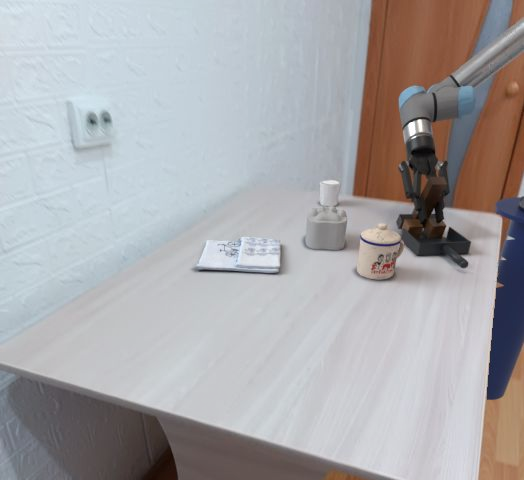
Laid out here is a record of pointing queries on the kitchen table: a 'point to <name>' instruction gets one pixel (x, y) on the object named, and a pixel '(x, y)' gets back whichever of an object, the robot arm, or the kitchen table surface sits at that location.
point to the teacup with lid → (379, 252)
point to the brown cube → (413, 227)
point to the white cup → (329, 192)
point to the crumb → (434, 228)
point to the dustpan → (440, 246)
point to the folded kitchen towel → (241, 255)
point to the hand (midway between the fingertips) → (432, 221)
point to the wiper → (427, 200)
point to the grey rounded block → (326, 228)
